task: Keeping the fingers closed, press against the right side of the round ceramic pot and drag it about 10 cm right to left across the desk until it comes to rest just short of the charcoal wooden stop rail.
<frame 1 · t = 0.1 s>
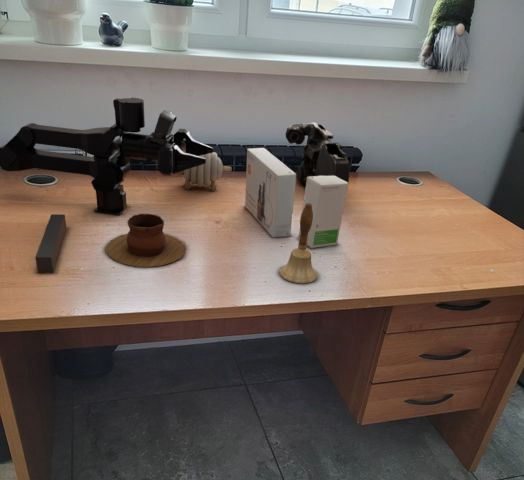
hand: (209, 155, 123), 17 cm above the table, tool horizontal, fingers open, 9 cm apart
movie camera: (315, 191, 159), on the table
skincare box: (265, 221, 136), on the table
cosmetic box: (317, 242, 129), on the table
hand bell: (298, 275, 114), on the table
ceramic pot: (146, 249, 117), on the table
toy sheep: (201, 188, 152), on the table
stop rail: (53, 248, 113), on the table
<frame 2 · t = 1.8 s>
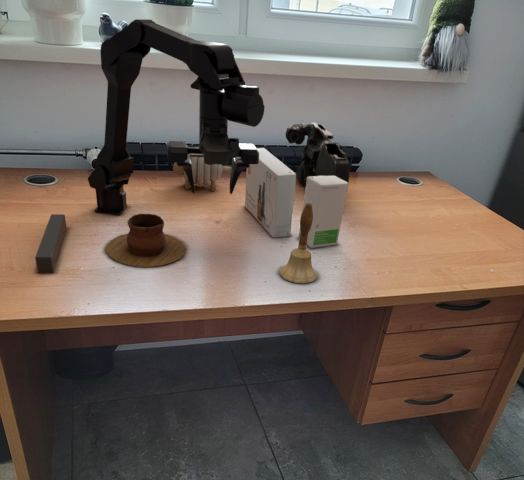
hand: (212, 193, 112), 13 cm above the table, tool pointing down, fingers open, 8 cm apart
nothing on the table moved.
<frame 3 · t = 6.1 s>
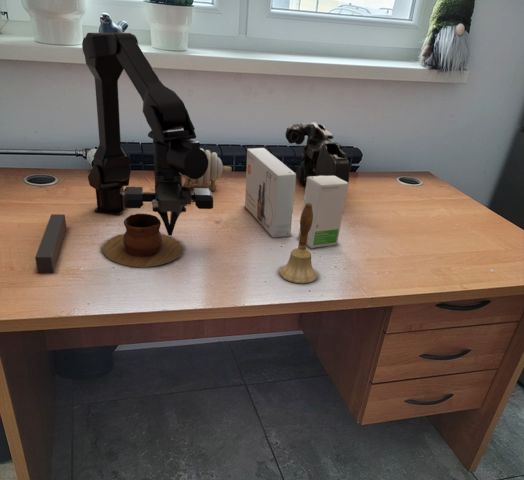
hand: (169, 234, 116), 4 cm above the table, tool pointing down, fingers closed
ceramic pot: (143, 250, 117), on the table, touching gripper
everything else where it was.
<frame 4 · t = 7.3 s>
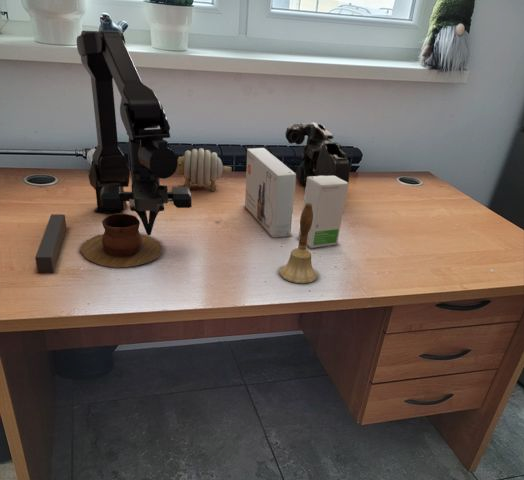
hand: (149, 234, 115), 4 cm above the table, tool pointing down, fingers closed
ceramic pot: (122, 250, 116), on the table, touching gripper
everything else where it was.
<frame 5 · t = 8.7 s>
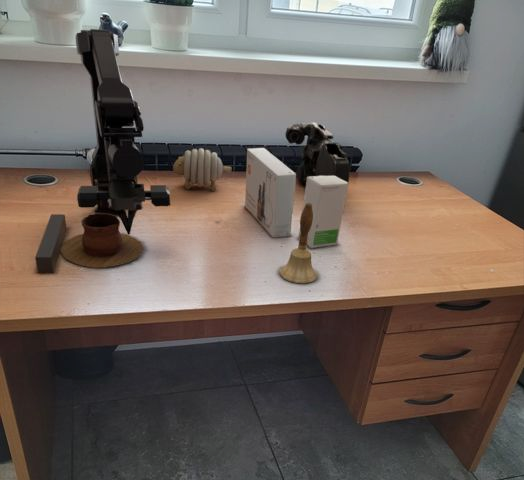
hand: (128, 233, 114), 4 cm above the table, tool pointing down, fingers closed
ceramic pot: (103, 250, 115), on the table, touching gripper, stop rail
everything else where it was.
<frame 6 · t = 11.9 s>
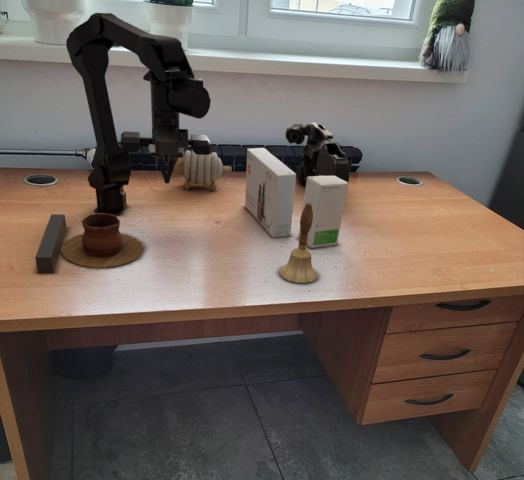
hand: (167, 182, 115), 13 cm above the table, tool pointing down, fingers closed
ceramic pot: (103, 250, 115), on the table, touching stop rail
everything else where it was.
at the end: ceramic pot inside the target area (0.4 cm from its centre), on the table; ceramic pot moved 9.5 cm from its start; ceramic pot tilted 0° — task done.
